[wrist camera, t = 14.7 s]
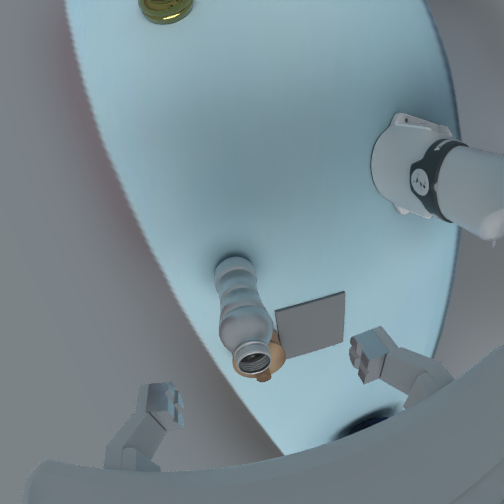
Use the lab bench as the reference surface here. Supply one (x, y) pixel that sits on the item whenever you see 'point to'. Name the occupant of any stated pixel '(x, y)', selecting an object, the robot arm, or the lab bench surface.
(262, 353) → the plastic bottle
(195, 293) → the lab bench surface
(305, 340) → the mat
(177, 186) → the lab bench surface
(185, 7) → the gold chess piece
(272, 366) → the lid
